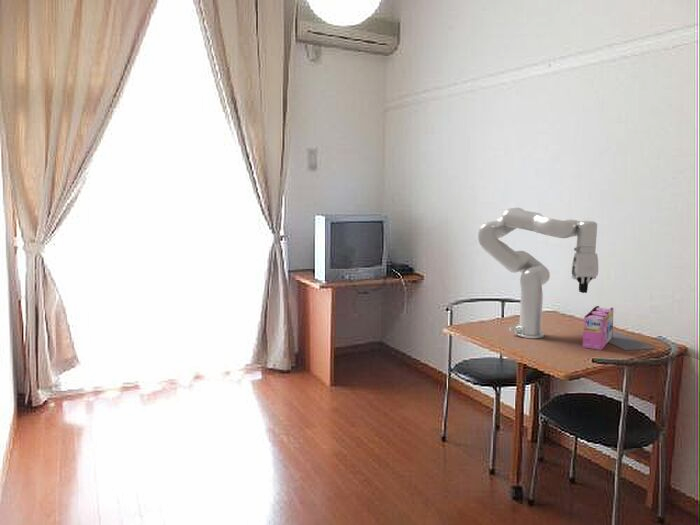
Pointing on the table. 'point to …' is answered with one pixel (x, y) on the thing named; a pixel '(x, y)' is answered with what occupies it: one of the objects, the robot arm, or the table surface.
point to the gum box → (598, 328)
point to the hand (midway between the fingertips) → (582, 292)
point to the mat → (627, 342)
